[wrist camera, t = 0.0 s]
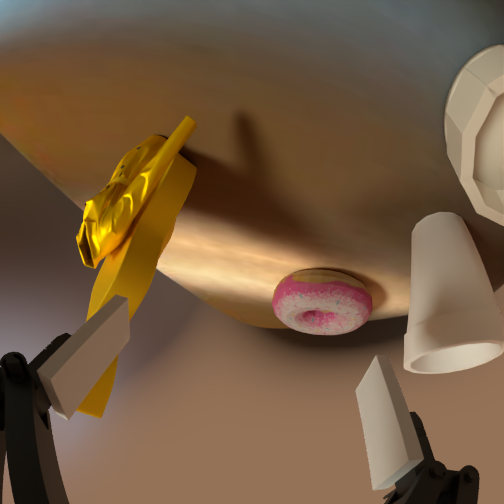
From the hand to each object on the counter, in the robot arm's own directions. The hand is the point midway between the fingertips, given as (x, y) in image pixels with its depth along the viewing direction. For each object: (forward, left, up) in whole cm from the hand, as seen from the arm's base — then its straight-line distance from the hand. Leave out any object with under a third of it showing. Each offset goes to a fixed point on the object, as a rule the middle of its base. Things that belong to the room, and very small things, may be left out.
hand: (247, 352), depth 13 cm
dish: (-11, +17, -15) cm, 25 cm away
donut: (+19, +9, -16) cm, 26 cm away
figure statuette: (+3, -11, -16) cm, 20 cm away
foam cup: (+3, +17, -16) cm, 23 cm away
